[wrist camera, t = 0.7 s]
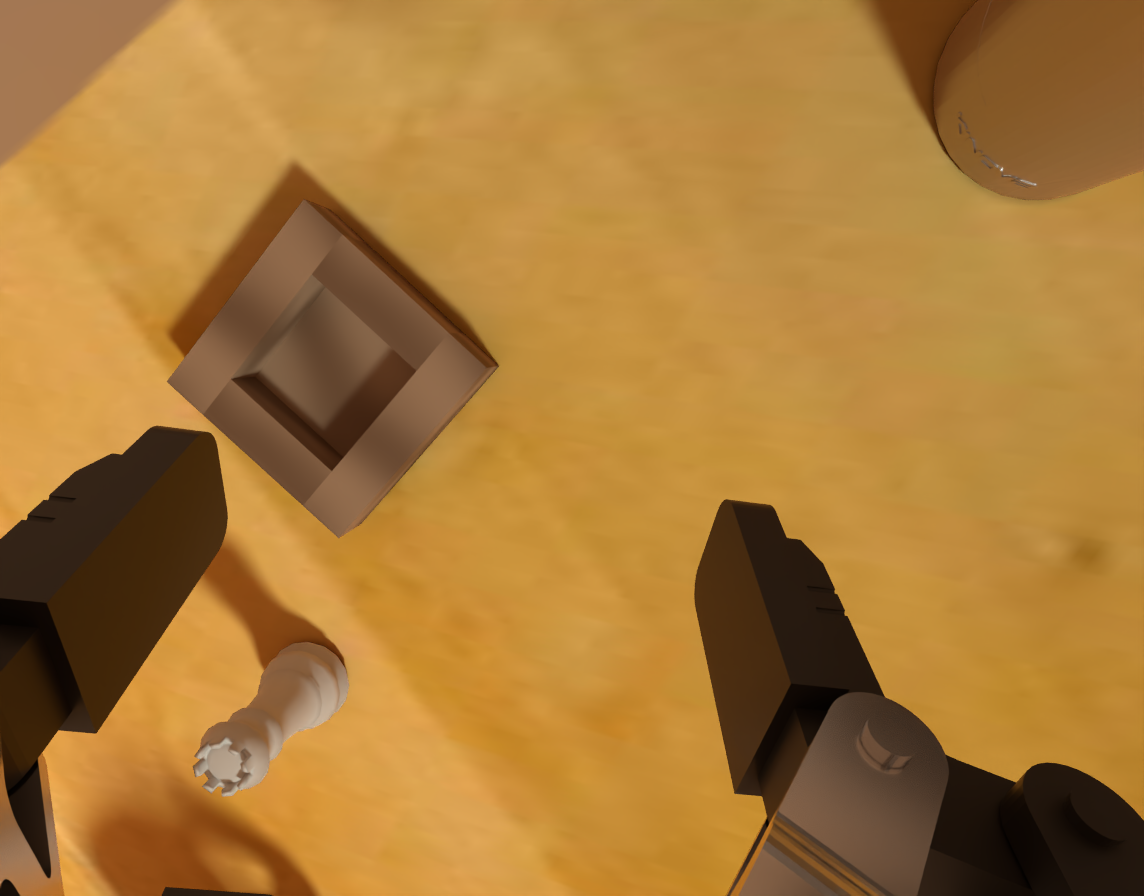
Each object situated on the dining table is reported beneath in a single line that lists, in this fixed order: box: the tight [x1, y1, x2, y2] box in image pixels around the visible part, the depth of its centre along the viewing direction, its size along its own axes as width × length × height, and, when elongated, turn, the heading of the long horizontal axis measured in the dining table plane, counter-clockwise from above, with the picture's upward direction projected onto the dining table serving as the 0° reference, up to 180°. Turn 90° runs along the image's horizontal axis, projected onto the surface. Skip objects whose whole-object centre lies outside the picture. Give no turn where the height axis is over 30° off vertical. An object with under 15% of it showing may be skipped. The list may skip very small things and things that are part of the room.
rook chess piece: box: [193, 642, 349, 796], centre depth 32 cm, size 4×4×8 cm
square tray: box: [167, 199, 499, 538], centre depth 32 cm, size 11×11×2 cm
